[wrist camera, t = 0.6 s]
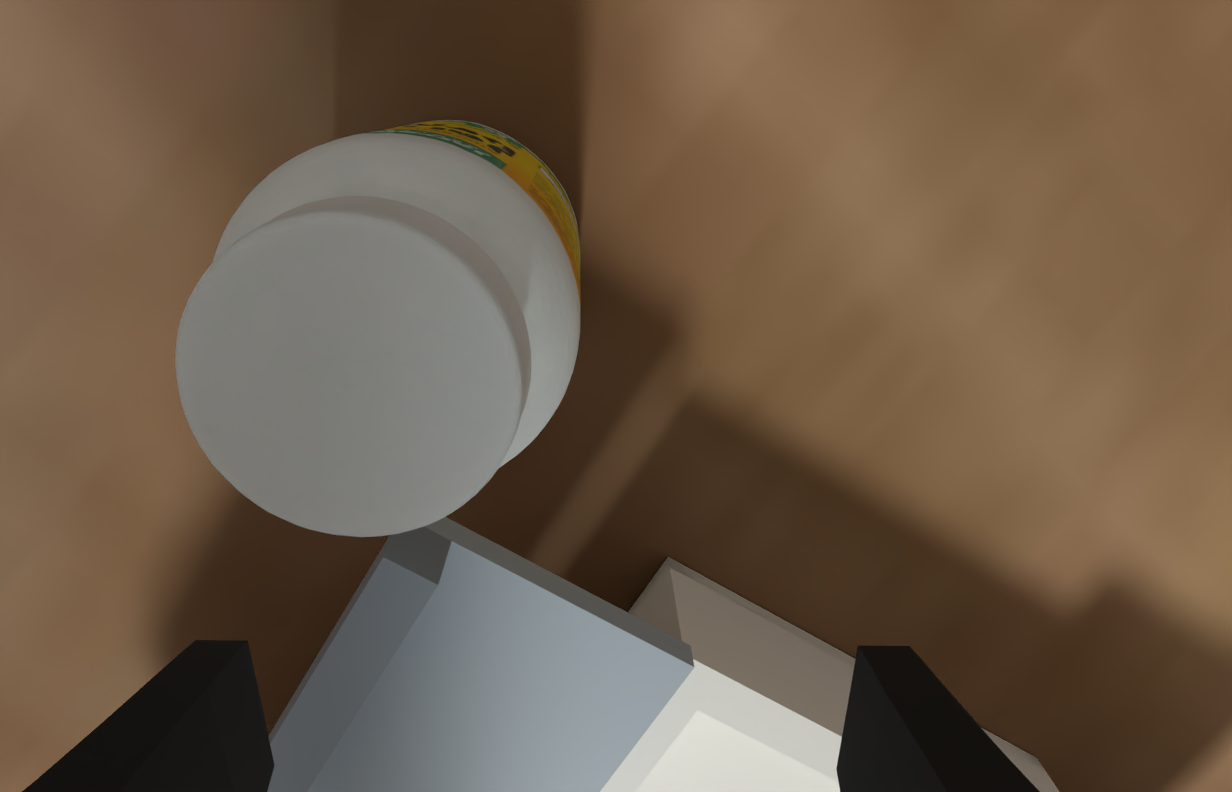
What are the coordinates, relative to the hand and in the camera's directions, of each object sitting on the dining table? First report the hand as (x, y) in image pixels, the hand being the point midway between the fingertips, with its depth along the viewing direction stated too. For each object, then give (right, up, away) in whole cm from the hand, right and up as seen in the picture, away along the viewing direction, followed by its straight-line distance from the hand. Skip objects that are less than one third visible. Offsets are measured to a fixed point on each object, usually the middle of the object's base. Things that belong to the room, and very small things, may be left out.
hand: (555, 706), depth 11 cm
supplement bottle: (-3, +7, +9) cm, 12 cm away
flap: (-4, -6, +8) cm, 11 cm away
